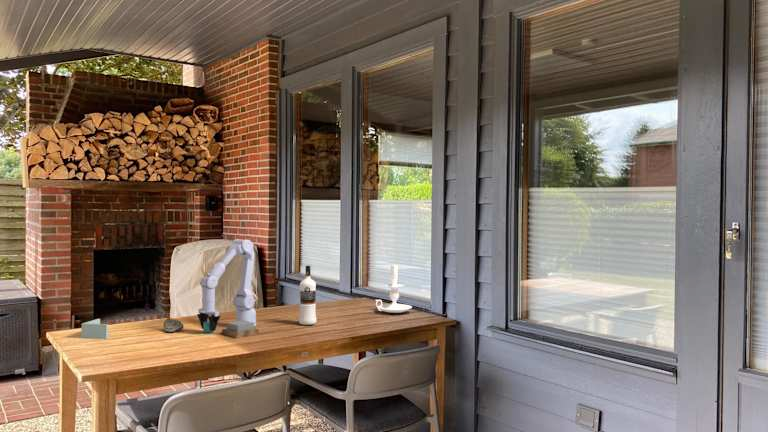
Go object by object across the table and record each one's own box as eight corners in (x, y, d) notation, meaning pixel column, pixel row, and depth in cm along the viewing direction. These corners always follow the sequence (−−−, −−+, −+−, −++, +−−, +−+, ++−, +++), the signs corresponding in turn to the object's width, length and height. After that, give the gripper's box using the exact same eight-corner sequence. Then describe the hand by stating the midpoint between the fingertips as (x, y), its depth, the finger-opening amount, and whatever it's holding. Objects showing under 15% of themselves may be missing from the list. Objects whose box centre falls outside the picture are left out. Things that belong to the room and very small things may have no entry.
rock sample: (159, 324, 270) (168, 310, 277) (156, 333, 275) (165, 319, 282) (179, 334, 272) (188, 320, 278) (176, 342, 276) (185, 328, 283)
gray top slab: (243, 326, 280) (243, 320, 280) (253, 329, 274) (254, 322, 274) (226, 328, 273) (226, 322, 273) (237, 331, 267) (237, 325, 267)
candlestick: (363, 312, 333) (364, 263, 333) (395, 307, 349) (395, 261, 349) (387, 317, 318) (387, 266, 317) (419, 312, 334) (419, 264, 334)
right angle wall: (106, 341, 257) (106, 324, 257) (81, 340, 259) (81, 323, 258) (121, 335, 269) (122, 319, 269) (97, 334, 270) (98, 318, 270)
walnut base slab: (243, 331, 282) (243, 325, 282) (258, 335, 274) (258, 329, 274) (221, 335, 273) (221, 329, 273) (236, 339, 265) (236, 333, 265)
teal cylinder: (210, 331, 280) (210, 320, 280) (215, 332, 277) (215, 322, 276) (201, 332, 276) (201, 322, 276) (206, 334, 273) (206, 323, 273)
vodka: (318, 321, 304) (318, 264, 304) (314, 325, 295) (314, 266, 295) (301, 321, 305) (301, 264, 305) (296, 324, 296) (297, 266, 296)
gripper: (192, 300, 278) (192, 328, 278) (209, 303, 268) (209, 332, 269) (205, 298, 283) (205, 326, 283) (222, 302, 274) (222, 330, 274)
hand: (208, 329), depth 276 cm, fingers open, 7 cm apart
